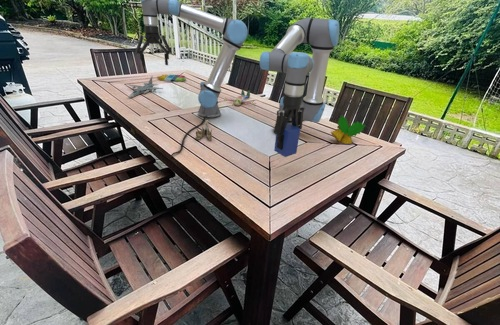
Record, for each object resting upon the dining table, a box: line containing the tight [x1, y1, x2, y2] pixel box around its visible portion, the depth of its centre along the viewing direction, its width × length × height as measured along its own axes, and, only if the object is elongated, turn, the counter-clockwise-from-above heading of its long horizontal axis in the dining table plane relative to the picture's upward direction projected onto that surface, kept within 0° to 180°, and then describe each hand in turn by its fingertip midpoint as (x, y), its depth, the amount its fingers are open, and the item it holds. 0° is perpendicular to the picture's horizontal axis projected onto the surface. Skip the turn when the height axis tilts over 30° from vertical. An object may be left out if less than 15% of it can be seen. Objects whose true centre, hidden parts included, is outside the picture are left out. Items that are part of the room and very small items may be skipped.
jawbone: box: [195, 119, 213, 141], centre depth 151 cm, size 9×15×10 cm
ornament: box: [330, 114, 367, 145], centre depth 158 cm, size 21×8×15 cm, turn 105°
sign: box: [156, 74, 187, 83], centre depth 278 cm, size 26×2×30 cm
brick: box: [273, 123, 301, 158], centre depth 113 cm, size 7×7×12 cm
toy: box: [223, 89, 257, 106], centre depth 219 cm, size 28×7×30 cm
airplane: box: [127, 75, 164, 99], centre depth 224 cm, size 38×31×10 cm
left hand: (155, 65), depth 156 cm, fingers open, 13 cm apart
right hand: (285, 146), depth 115 cm, fingers closed on brick, 7 cm apart
